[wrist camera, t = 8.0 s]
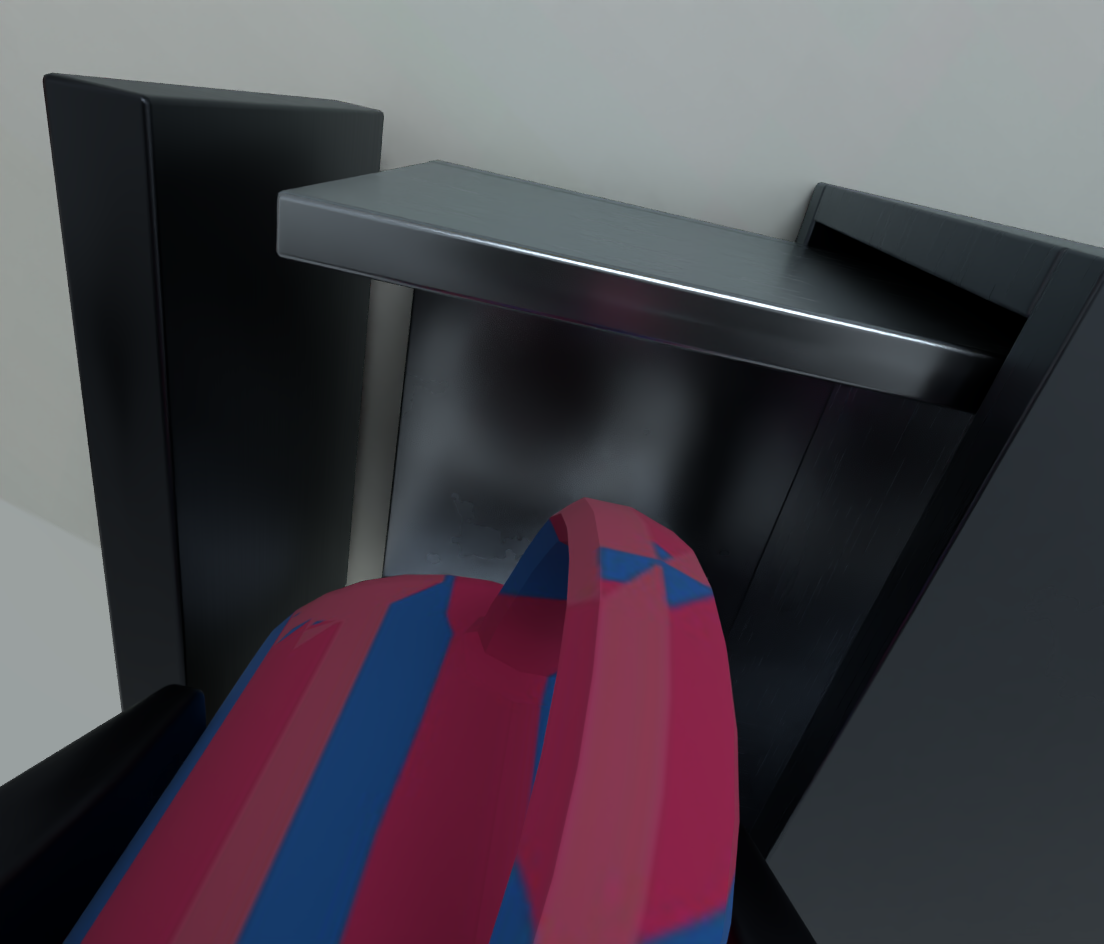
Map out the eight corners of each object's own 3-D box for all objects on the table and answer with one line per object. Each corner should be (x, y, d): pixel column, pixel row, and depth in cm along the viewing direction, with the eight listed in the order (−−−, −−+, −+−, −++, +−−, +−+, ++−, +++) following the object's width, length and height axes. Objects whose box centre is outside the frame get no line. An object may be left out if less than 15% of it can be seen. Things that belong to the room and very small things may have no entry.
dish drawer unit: (649, 645, 23) (678, 1014, 13) (816, 181, 16) (1113, 259, 7) (1067, 734, 23) (1384, 1155, 14) (1401, 317, 16) (2478, 578, 7)
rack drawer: (177, 547, 21) (-77, 794, 13) (146, 56, 15) (-356, -21, 7) (726, 665, 22) (792, 970, 14) (914, 234, 15) (1223, 344, 8)
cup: (198, 783, 12) (-246, 1498, 6) (434, 257, 7) (-368, 855, 1) (541, 920, 13) (483, 1643, 7) (921, 529, 8) (1732, 1560, 2)
